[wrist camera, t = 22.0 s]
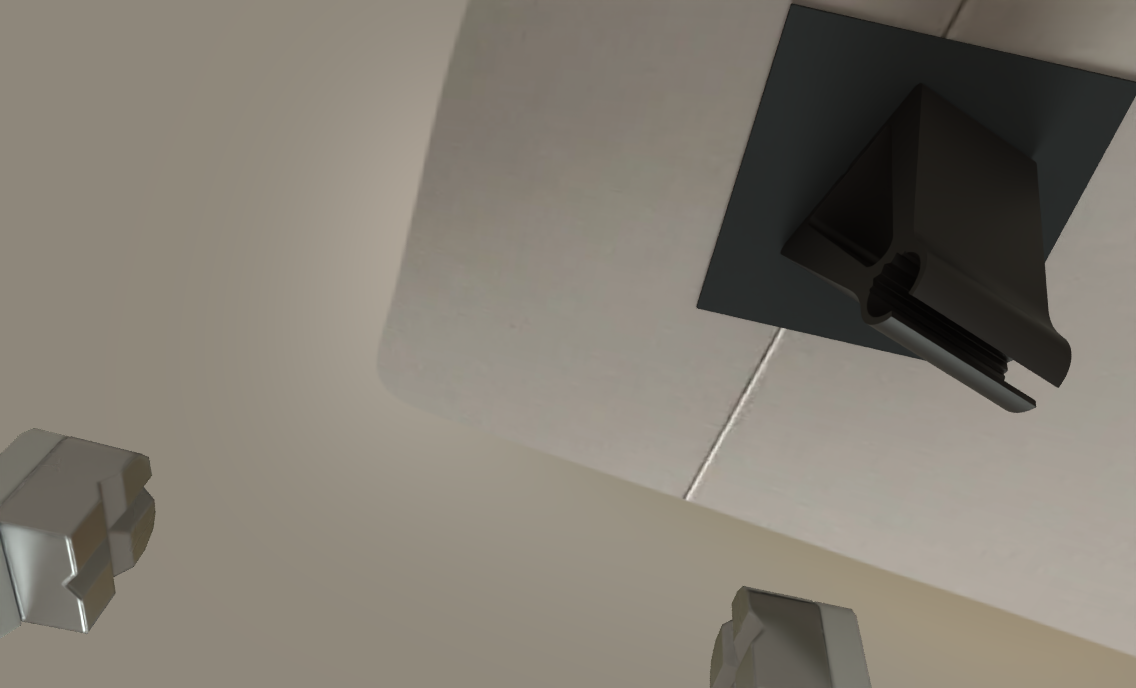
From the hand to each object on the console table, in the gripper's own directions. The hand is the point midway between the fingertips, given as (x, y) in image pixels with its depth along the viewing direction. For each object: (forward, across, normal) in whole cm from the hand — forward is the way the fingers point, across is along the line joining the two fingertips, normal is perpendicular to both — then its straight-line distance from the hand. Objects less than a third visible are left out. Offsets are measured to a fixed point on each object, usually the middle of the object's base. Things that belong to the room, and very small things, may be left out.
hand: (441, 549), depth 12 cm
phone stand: (+28, -14, +4) cm, 32 cm away
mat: (+28, -14, +4) cm, 32 cm away
